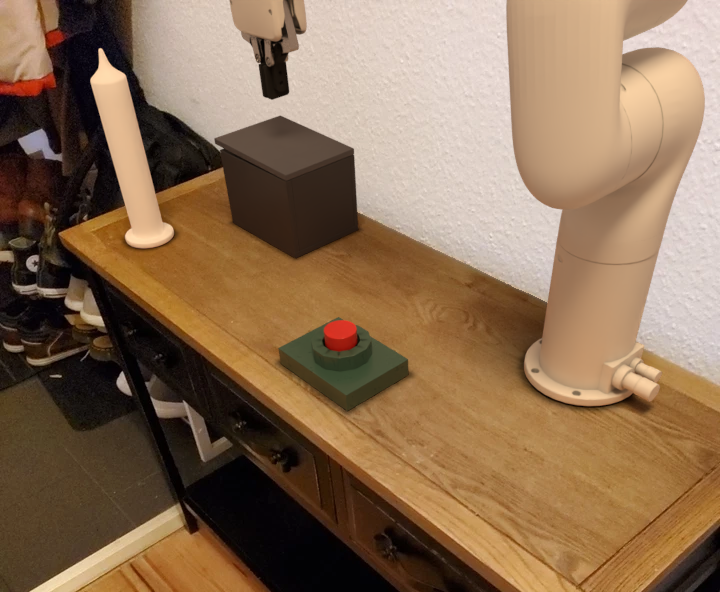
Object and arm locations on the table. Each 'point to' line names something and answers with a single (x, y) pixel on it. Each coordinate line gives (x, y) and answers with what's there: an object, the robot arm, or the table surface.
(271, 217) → the open storage bin
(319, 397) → the table surface
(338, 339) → the red button
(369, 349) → the control block
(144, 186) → the candle
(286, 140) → the lid
